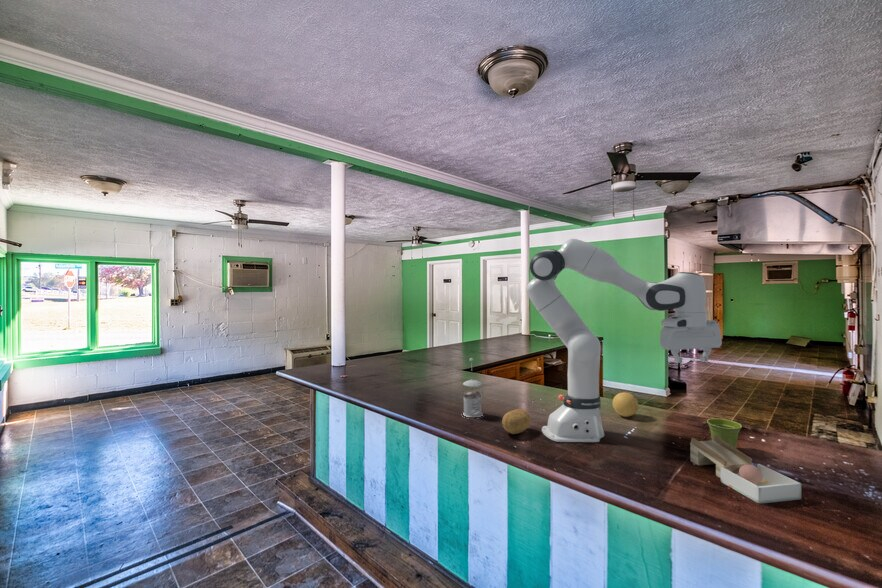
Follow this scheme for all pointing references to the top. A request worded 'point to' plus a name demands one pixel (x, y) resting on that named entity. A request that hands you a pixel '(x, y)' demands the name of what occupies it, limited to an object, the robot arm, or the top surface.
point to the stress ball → (625, 404)
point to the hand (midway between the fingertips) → (691, 362)
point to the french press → (472, 398)
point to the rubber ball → (750, 473)
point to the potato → (516, 421)
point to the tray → (764, 486)
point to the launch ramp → (718, 455)
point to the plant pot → (725, 430)
